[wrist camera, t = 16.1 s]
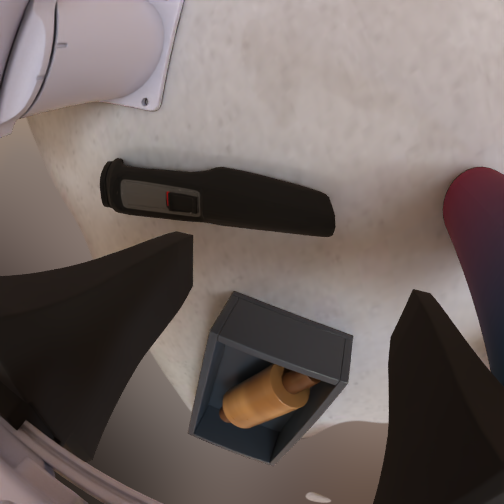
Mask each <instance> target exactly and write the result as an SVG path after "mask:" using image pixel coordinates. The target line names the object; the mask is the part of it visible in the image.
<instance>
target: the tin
mask: <svg viewBox="0 0 504 504" xmlns="http://www.w3.org/2000/svg"><path fill="white" fill-rule="evenodd" d="M352 342H353V336H352V335H349V334H346V333H343V332H341V331H338V330H335V329H332V328H330V327H327V326H324V325H321V324H319V323H316V322H313V321H311V320H308V319H305V318H303V317H300V316H297V315H295V314H292V313H289V312H287V311H284V310H281V309H279V308H276V307H274V306H271V305H268V304H266V303H263V302H261V301H258V300H256V299H253V298H250V297H248V296H245V295H243V294H240V293H238V292H235V291H234V292H233V293H232V295H231V297H230V298H229V300H228V301H227V303H226V305H225V306H224V308H223V310H222V311H221V313H220V315H219V316H218V318H217V320H216V321H215V323H214V325H213V326H212V328H211V330H210V331H209V336H208V340H207V345H206V349H205V354H204V358H203V363H202V367H201V372H200V377H199V381H198V386H197V391H196V396H195V400H194V405H193V410H192V415H191V420H190V424H189V430H188V434H190V435H193V436H194V437H197V438H199V439H201V440H204V441H206V442H208V443H211V444H213V445H216V446H218V447H221V448H223V449H226V450H228V451H231V452H234V453H236V454H239V455H242V456H244V457H247V458H250V459H253V460H256V461H259V462H262V463H265V464H268V465H271V466H274V465H275V464H276V463H277V462H278V461H279V460H280V459H281V458H282V457H283V456H284V455H285V454H286V453H287V452H288V451H289V450H290V449H291V448H292V447H293V446H294V444H296V443H297V442H298V441H299V440H300V439H301V438H302V436H303V435H304V434H305V433H306V432H307V431H308V430H309V429H310V428H311V427H312V425H313V424H314V423H315V422H316V421H317V420H318V419H319V418H320V416H321V415H322V414H323V413H324V412H325V411H326V409H327V408H328V407H329V406H330V405H331V404H332V402H333V401H334V400H335V399H336V398H337V396H338V395H339V394H340V393H341V391H342V390H343V389H344V388H345V386H346V385H347V384H348V380H349V371H350V362H351V352H352ZM272 364H276V365H279V366H282V367H284V368H287V369H290V370H292V371H295V372H298V373H301V374H304V375H307V376H309V377H312V378H315V379H318V380H321V381H320V382H319V383H317V384H315V385H313V386H311V387H310V395H309V399H308V401H307V403H306V404H305V405H304V406H303V407H301V408H298V409H296V410H294V411H291V412H289V413H287V414H284V415H282V416H279V417H277V418H274V419H272V420H269V421H267V422H264V423H261V424H259V425H256V426H253V427H251V428H239V427H237V426H235V425H234V424H232V423H227V422H224V421H223V420H222V419H221V418H220V415H219V410H220V408H221V407H222V406H223V397H224V395H225V393H226V392H227V391H228V390H229V389H231V388H232V387H234V386H236V385H238V384H240V383H241V382H243V381H245V380H247V379H248V378H250V377H252V376H254V375H255V374H257V373H259V372H260V371H262V370H264V369H265V368H267V367H269V366H270V365H272Z"/></svg>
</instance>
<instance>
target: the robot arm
mask: <svg viewBox="0 0 504 504" xmlns="http://www.w3.org/2000/svg"><path fill="white" fill-rule="evenodd" d="M183 2H184V0H168V1H167V0H0V138H1V137H4V136H7V135H10V134H11V133H12V130H13V126H14V124H15V122H16V121H17V120H18V119H21V118H24V117H28V116H32V115H36V114H40V113H44V112H48V111H52V110H56V109H60V108H65V107H70V106H74V105H79V104H84V103H90V102H95V101H100V102H106V103H112V104H117V105H123V106H128V107H133V108H139V109H144V110H148V111H155V110H157V109H159V108H160V105H161V101H162V95H163V90H164V85H165V79H166V74H167V69H168V65H169V60H170V55H171V51H172V46H173V42H174V38H175V33H176V29H177V25H178V21H179V17H180V13H181V9H182V6H183ZM146 99H147V100H148V105H146V104H145V100H146ZM192 287H193V235H190V234H185V233H181V232H177V231H176V232H172V233H169V234H165V235H162V236H159V237H157V238H154V239H151V240H148V241H146V242H143V243H140V244H138V245H135V246H132V247H130V248H127V249H124V250H121V251H118V252H115V253H112V254H110V255H107V256H104V257H101V258H98V259H95V260H91V261H88V262H85V263H81V264H77V265H73V266H69V267H65V268H60V269H54V270H50V271H44V272H38V273H31V274H23V275H12V276H0V504H88V503H87V502H85V501H84V500H83V499H82V498H81V497H79V496H78V495H77V494H76V493H75V492H73V491H72V490H70V489H69V488H68V487H66V486H65V485H63V484H62V483H61V482H59V481H58V480H56V479H55V473H54V471H56V472H57V473H58V474H60V475H61V476H63V477H64V478H65V479H67V480H68V481H70V482H71V483H73V484H74V485H76V486H77V487H79V488H80V489H82V490H84V491H85V492H86V493H88V494H90V495H91V496H93V497H95V498H96V499H98V500H100V501H101V502H103V503H105V504H163V503H160V502H158V501H156V500H154V499H152V498H149V497H147V496H145V495H143V494H141V493H139V492H137V491H135V490H133V489H131V488H129V487H127V486H125V485H123V484H122V483H120V482H118V481H116V480H114V479H112V478H111V477H109V476H107V475H105V474H104V473H102V472H100V471H98V470H97V469H95V468H94V467H92V466H90V465H89V464H87V463H85V462H87V461H91V460H93V457H94V454H95V451H96V449H97V446H98V444H99V441H100V439H101V436H102V434H103V432H104V429H105V427H106V425H107V423H108V420H109V418H110V416H111V414H112V412H113V410H114V408H115V406H116V404H117V402H118V400H119V398H120V396H121V394H122V392H123V390H124V388H125V387H126V385H127V383H128V381H129V379H130V378H131V376H132V374H133V373H134V371H135V369H136V368H137V366H138V364H139V363H140V361H141V360H142V358H143V357H144V355H145V354H146V353H147V351H148V350H149V349H150V347H151V346H152V345H153V343H154V342H155V341H156V340H157V338H158V337H159V336H160V334H161V333H162V332H163V331H164V329H165V328H166V327H167V325H168V324H169V323H170V321H171V320H172V319H173V317H174V316H175V315H176V314H177V312H178V311H179V309H180V308H181V306H182V305H183V303H184V301H185V299H186V298H187V296H188V294H189V292H190V290H191V288H192ZM388 374H389V427H388V438H387V444H386V451H385V456H384V462H383V467H382V471H381V476H380V480H379V484H378V489H377V492H376V496H375V499H374V502H373V504H504V386H503V385H502V384H501V383H500V382H499V381H498V380H497V378H496V377H495V376H494V375H493V374H492V373H491V372H490V371H489V369H488V368H487V367H486V366H485V365H484V363H483V362H482V361H481V360H480V358H479V357H478V356H477V354H476V353H475V352H474V350H473V349H472V348H471V347H470V345H469V344H468V343H467V341H466V340H465V339H464V337H463V336H462V334H461V333H460V332H459V330H458V329H457V328H456V326H455V325H454V323H453V322H452V321H451V319H450V318H449V317H448V315H447V314H446V312H445V311H444V310H443V308H442V307H441V306H440V304H439V303H438V302H437V301H436V299H435V298H434V297H433V296H432V295H431V294H430V293H427V292H423V291H419V290H415V289H413V290H412V293H411V295H410V297H409V299H408V302H407V304H406V306H405V308H404V310H403V313H402V315H401V317H400V319H399V321H398V323H397V325H396V327H395V329H394V331H393V333H392V335H391V340H390V350H389V362H388ZM53 470H54V471H53Z"/></svg>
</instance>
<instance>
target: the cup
mask: <svg viewBox="0 0 504 504" xmlns="http://www.w3.org/2000/svg"><path fill="white" fill-rule="evenodd" d="M443 218H444V222H445V226H446V228H447V230H448V233H449V235H450V238H451V240H452V243H453V245H454V248H455V250H456V253H457V256H458V258H459V261H460V264H461V266H462V269H463V272H464V275H465V278H466V281H467V284H468V287H469V290H470V293H471V296H472V299H473V303H474V306H475V309H476V313H477V316H478V320H479V323H480V327H481V331H482V335H483V339H484V343H485V347H486V351H487V356H488V360H489V365H490V370H491V373H492V374H493V375H494V376H495V377H496V378H497V380H498V381H499V382H500V383H501V384H502V385H503V386H504V175H503V174H501V173H499V172H497V171H495V170H493V169H491V168H486V167H476V168H472V169H469V170H467V171H465V172H463V173H462V174H460V175H459V176H458V177H457V178H456V179H455V180H454V181H453V183H452V184H451V185H450V187H449V189H448V191H447V193H446V196H445V199H444V205H443Z"/></svg>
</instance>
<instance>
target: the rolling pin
mask: <svg viewBox="0 0 504 504" xmlns="http://www.w3.org/2000/svg"><path fill="white" fill-rule="evenodd" d="M320 381H321V380H318V379H315V378H312V377H309V376H307V375H304V374H301V373H298V372H295V371H292V370H290V369H287V368H284V367H282V366H279V365H276V364H272V365H270V366H269V367H267V368H265V369H264V370H262V371H260V372H259V373H257V374H255V375H254V376H252V377H250V378H248V379H247V380H245V381H243V382H241V383H240V384H238V385H236V386H234V387H232V388H231V389H229V390H228V391H227V392H226V393H225V395H224V397H223V406H222V407H221V408H220V410H219V415H220V418H221V419H222V420H223V421H224V422H227V423H232V424H234V425H235V426H237V427H239V428H251V427H253V426H256V425H259V424H261V423H264V422H267V421H269V420H272V419H274V418H277V417H279V416H282V415H284V414H287V413H289V412H291V411H294V410H296V409H298V408H301V407H303V406H304V405H305V404H306V403H307V401H308V399H309V395H310V387H311V386H313V385H315V384H317V383H319V382H320Z"/></svg>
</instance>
